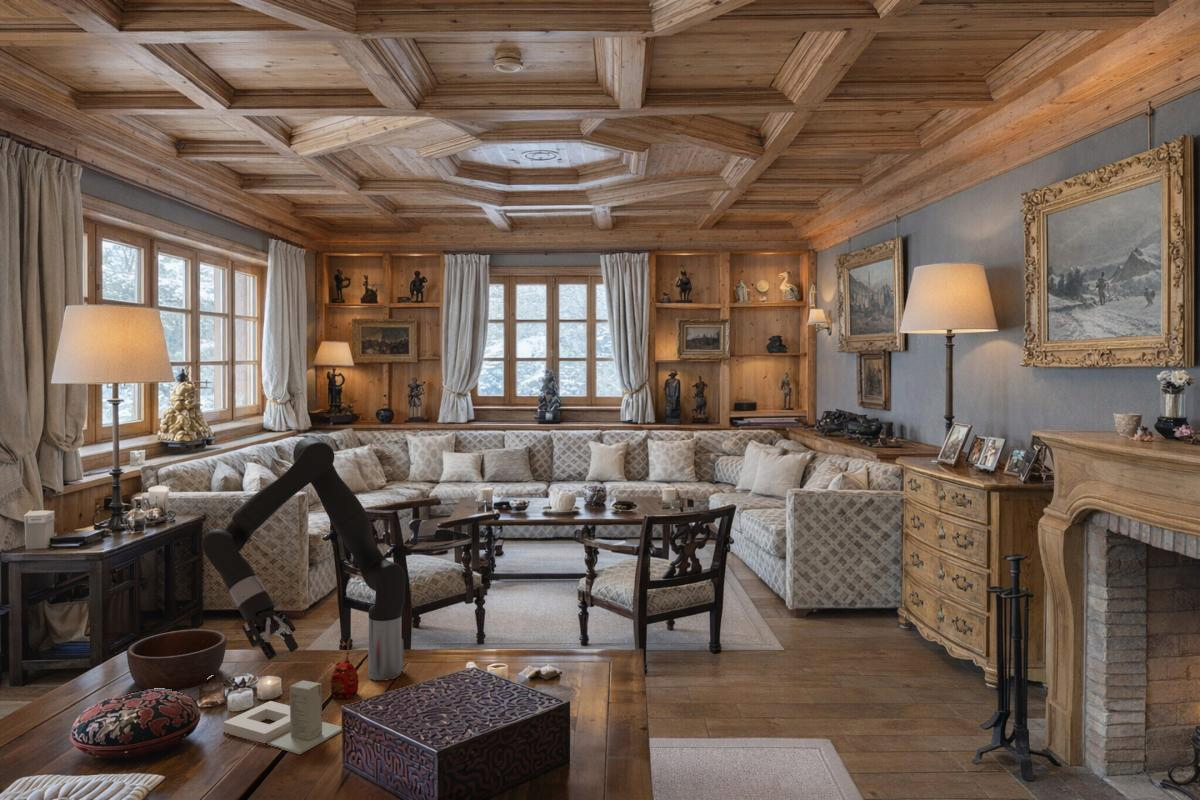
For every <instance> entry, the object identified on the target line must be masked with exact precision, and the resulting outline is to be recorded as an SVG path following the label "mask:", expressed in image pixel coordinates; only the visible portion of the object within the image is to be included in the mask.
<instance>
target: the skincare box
mask: <svg viewBox="0 0 1200 800" xmlns="http://www.w3.org/2000/svg"><path fill="white" fill-rule="evenodd" d="M322 694H323V693H322V683H321V682H317V681H309V680H300V681H298V682H296V683H293V684H291V685H289V706H290V730H291V737H296V738H301V739H305V740H311V739H313V738H315V737H317V736H318V735H320V734H322V722H323V704H322V703H323V702H322V700H323V699H322Z"/></svg>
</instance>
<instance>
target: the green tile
mask: <svg viewBox="0 0 1200 800" xmlns="http://www.w3.org/2000/svg"><path fill="white" fill-rule="evenodd" d="M341 727H342V726H341V725H336V724H333V723H329V722H325V721H322V734H320V735H318V736H317V737H315V738H313V739H311V740H305V739H301V738H296V737H291V731H290V732H288V733H286V734H284V735H282V736H280V737H278V738H276V739H274V740H272V741H270V742H268V743H267V745H268V746H269V745H271V746H270V747H272V746H275V747H274V748H276V747H279V748H281V749H280V750H283V751H287V752H290V753H292V754H293V753H294V754H297V755H301V754H303V753H305V752H307V751H308V750H310V749H312V748H314V747H315V746H318V745H319V744H322V743H323V742H325V741H327V740H329V739H330V738H332V737H334V736H335V735H337V734H339V733H341V732H342V731H341ZM279 748H278V749H279Z"/></svg>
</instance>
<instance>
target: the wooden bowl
mask: <svg viewBox="0 0 1200 800" xmlns="http://www.w3.org/2000/svg"><path fill="white" fill-rule="evenodd" d="M227 640H228V639H227V636H226V635H225V634H224V633H223V632H220V631H218V630H217V631H216V630H213V629H203V628H202V629H199V628H198V629H197V628H196V629H195V628H194V629H181V630H174V631H169V632H164V633H158V634H154V635H152V636H148V637H145V638H142V639H140V640H138V641H135V642H134V643H132V644H131V645H130V646H129V647H128V648H127V649H126V659H127V666H128V670H129V673H130V676H131V678H132V679H133V681H134V682H133V683H135V684H136V685H137V686H138V687H139V688H142V689H143V690H146V689H154V688H165V689H172V690H171V691H176V690H182V689H186V688H192V687H195V686H198V685H200V684H204V683H205V681H206V680H207V678H208V677H209V676H211V675H215V676H216V675H217V674H218V672H219V670H220V669H221V667H222V665H223V662H224V658H225V654H226V647H227ZM206 682H207V681H206Z"/></svg>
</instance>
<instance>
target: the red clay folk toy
mask: <svg viewBox="0 0 1200 800" xmlns="http://www.w3.org/2000/svg"><path fill="white" fill-rule="evenodd" d="M350 643H351V637H349V638H348V641H347V643H345V642H344V641H343V642H342V644H341V645H342V646H341V647H344V646H346V647H347V650H346V656H345V661H344V662H342V661H338V662H336V664H335V668H334V670H333V673H332V674H331V677H330V679H329V681H330V691H331V693H330V696H331V697H332V698H334V699H340V700H350V699H352V697H354V696H355V695H356V694H357V693H358V691H359V683H360V681H359V675H358V673H357V668H356V667H355V666H354V665H353V663H351V662H350V660H349V654H350V651H349V650H350Z"/></svg>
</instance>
